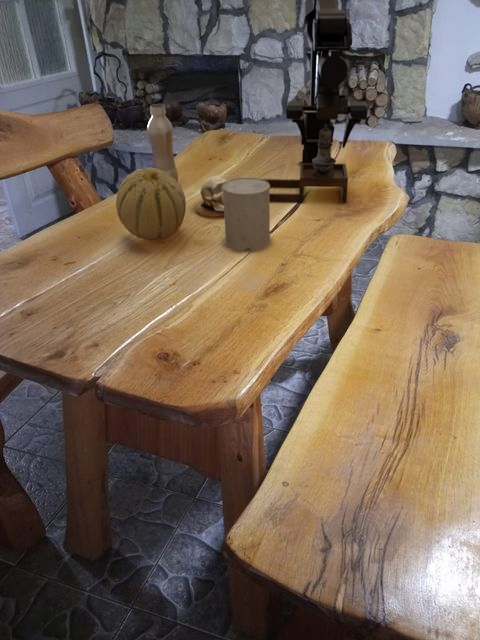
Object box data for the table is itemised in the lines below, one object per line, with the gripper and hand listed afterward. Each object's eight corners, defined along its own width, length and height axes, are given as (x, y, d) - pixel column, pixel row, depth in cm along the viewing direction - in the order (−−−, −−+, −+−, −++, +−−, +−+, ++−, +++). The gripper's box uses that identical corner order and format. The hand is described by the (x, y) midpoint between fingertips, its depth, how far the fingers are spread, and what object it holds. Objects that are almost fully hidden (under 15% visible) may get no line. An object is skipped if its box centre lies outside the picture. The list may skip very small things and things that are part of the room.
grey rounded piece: (309, 171, 138) (311, 121, 131) (332, 170, 139) (335, 120, 132) (313, 179, 134) (315, 128, 127) (337, 178, 134) (340, 127, 127)
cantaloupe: (149, 218, 128) (140, 153, 119) (202, 230, 122) (196, 162, 113) (106, 243, 117) (93, 173, 109) (162, 257, 112) (152, 185, 103)
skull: (258, 204, 131) (235, 179, 123) (233, 239, 132) (208, 217, 124) (229, 189, 139) (204, 164, 131) (205, 222, 139) (179, 200, 131)
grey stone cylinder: (254, 255, 112) (253, 197, 105) (216, 245, 116) (212, 188, 109) (278, 238, 118) (278, 182, 111) (241, 229, 123) (239, 174, 115)
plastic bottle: (181, 182, 148) (173, 102, 136) (175, 191, 142) (167, 109, 130) (158, 181, 148) (148, 102, 136) (151, 190, 143) (140, 108, 131)
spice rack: (343, 187, 143) (345, 163, 140) (346, 203, 134) (348, 178, 131) (256, 186, 145) (255, 162, 141) (252, 201, 136) (252, 177, 132)
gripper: (286, 84, 119) (285, 157, 128) (373, 84, 117) (365, 158, 127) (287, 74, 127) (286, 143, 137) (368, 74, 126) (361, 144, 136)
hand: (324, 147), depth 134 cm, fingers open, 9 cm apart
